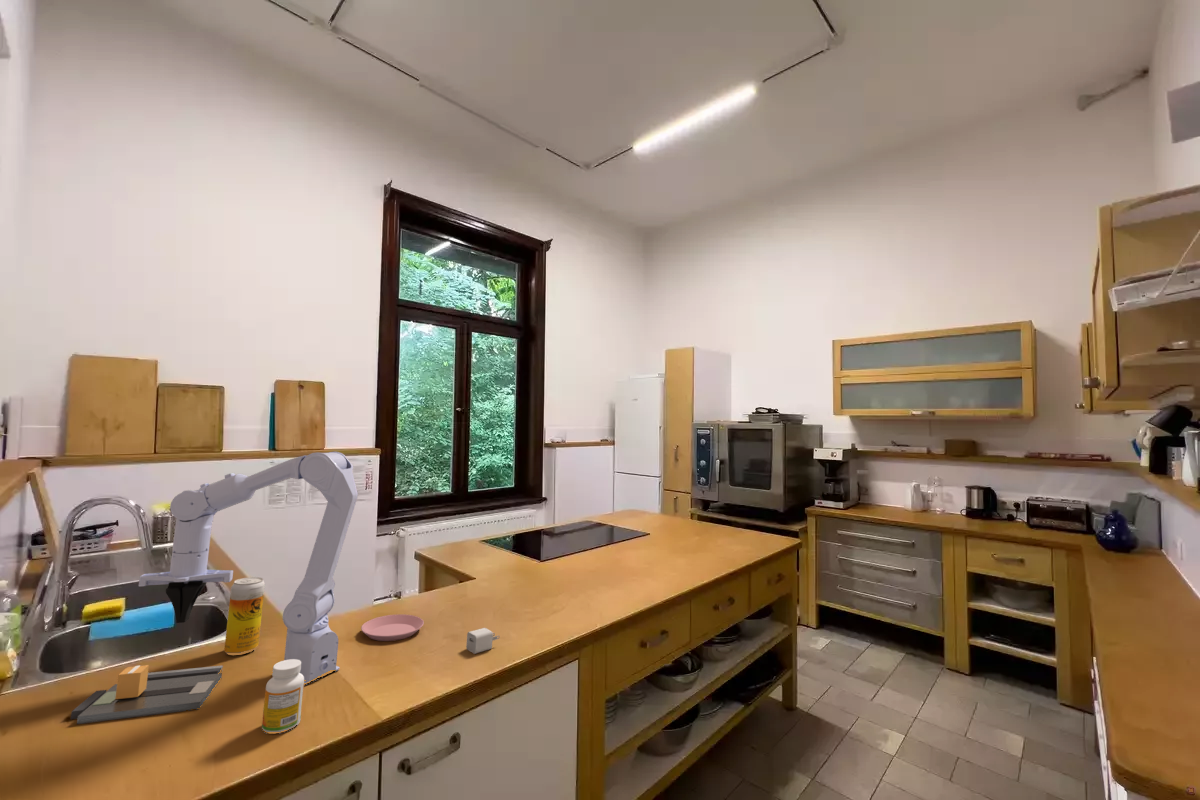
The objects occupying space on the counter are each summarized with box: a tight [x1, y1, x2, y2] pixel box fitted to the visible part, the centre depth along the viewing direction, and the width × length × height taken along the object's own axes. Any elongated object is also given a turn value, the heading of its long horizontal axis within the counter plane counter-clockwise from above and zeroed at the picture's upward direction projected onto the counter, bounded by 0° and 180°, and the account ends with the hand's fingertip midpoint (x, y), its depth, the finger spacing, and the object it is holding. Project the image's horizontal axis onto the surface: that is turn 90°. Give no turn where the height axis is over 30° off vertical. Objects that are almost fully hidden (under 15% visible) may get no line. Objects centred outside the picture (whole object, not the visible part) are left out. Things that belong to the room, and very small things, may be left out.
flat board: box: [70, 665, 224, 720], centre depth 89 cm, size 17×13×1 cm
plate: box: [360, 614, 425, 642], centre depth 122 cm, size 14×14×2 cm
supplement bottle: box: [261, 659, 305, 732], centre depth 81 cm, size 5×5×10 cm
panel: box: [76, 672, 223, 725], centre depth 87 cm, size 16×11×1 cm
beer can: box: [223, 576, 266, 654], centre depth 108 cm, size 6×6×15 cm
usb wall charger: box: [465, 627, 500, 655], centre depth 115 cm, size 4×7×4 cm, turn 135°
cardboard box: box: [115, 664, 150, 699], centre depth 86 cm, size 3×3×4 cm
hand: (182, 621), depth 97 cm, fingers closed
